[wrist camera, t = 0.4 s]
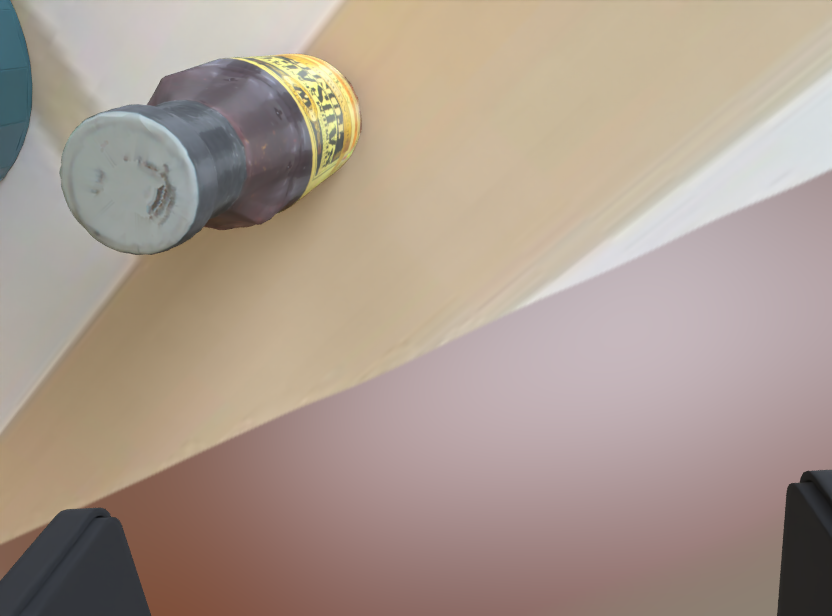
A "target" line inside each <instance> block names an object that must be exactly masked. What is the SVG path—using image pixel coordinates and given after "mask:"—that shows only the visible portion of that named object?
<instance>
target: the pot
mask: <svg viewBox="0 0 832 616" xmlns="http://www.w3.org/2000/svg"><path fill="white" fill-rule="evenodd" d="M31 107H32V77H31V67H30V60H29V55H28V51H27V46H26V42H25V38H24V35H23V32H22V29H21V26H20V23H19V20H18V17H17V14H16V12H15V10H14V8H13V5H12V3H11V1H10V0H0V181H1V180H2V179H3V178H4V176H5V175H6V174H7V172H8V171H9V169H10V168H11V166H12V165H13V164H14V162H15V160H16V158H17V156H18V154H19V152H20V150H21V148H22V146H23V143H24V139H25V136H26V133H27V130H28V126H29V120H30V113H31Z"/></svg>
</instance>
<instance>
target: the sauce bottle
mask: <svg viewBox="0 0 832 616" xmlns="http://www.w3.org/2000/svg"><path fill="white" fill-rule="evenodd" d="M361 127H362V125H361V112H360V107H359V103H358V97H357V96H356V94H355V92H354V90H353V87H352V85H351V83H350V82H349V81H347V79H346V78H345V77H344V76H343V75H342V74H341V73H340V72H339V71H337V70H336V69H335V68H334V67H333V66H331V65H330V64H329V63H327V62H325V61H323V60H321V59H318V58H316V57H313V56H309V55H303V54H282V55H270V56H257V57H235V58H222V59H217V60H214V61H211V62H208V63H205V64H202V65H199V66H196V67H193V68H190V69H187V70H184V71H181V72H178V73H174V74H171V75H168V76H165V77H164V78H162V79H161V81H160V83H159V85H158V86H157V88H156V90H155V92H154V94H153V95H152V97H151V99H150V101H149V102H148V104H147V105H127V106H123V107H120V108H115V109H111V110H108V111H105V112H101V113H99V114H96V115H94V116H92V117H89V118H87V119H86V120H84V121H83V122H82V123H81V124H80V125H79V126H78V127H76V129H75V130H74V131H73V132H72V134H71V135H70V137H69V139H68V141H67V143H66V145H65V147H64V150H63V153H62V159H61V168H60V177H61V187H62V190H63V194H64V197H65V199H66V202H67V204H68V207H69V209H70V211H71V212H72V214H73V216H74V217H75V218H76V219H77V221H78V222H79V223H80V224H81V225H82V226H83V227H84V228H85V229H86V230H87V231H88V232H89V234H90V235H91V236H92V237H93V238H95V239H96V240H97V241H99V242H100V243H102V244H103V245H105V246H107V247H109V248H111V249H114V250H116V251H119V252H123V253H131V254H135V255H143V254H148V255H152V254H156V253H161V252H164V251H168V250H170V249H171V248H173V247H176V246H178V245H180V244H182V243H184V242H185V241H187V240H189V239H191V238H192V237H193V236H194V235H195V234H196V233H197V232H199V231H201V229H202V228H203V227H208V228H213V229H217V230H227V229H233V228H239V227H249V226H253V225H255V224H257V225H258V224H262V223H264V222H266V221H268V220H270V219H271V218H272V217H273V216H274V215H275V214H277V213H280V212H282V211H284V210H286V209H287V208H289V207H290V206H292V205H293V204H295V203H296V202H297V201H299V200H300V199H301V198H302V197H304V196H305V195H306V194H307V193H309V192H310V191H311V190H312V189H314V188H315V187H316V186H318V185H319V184H320V183H321V182H323V181H324V180H325V179H327V178H328V177H329V176H331V175H332V174H333V173H335V172H336V171H337V170H338V169H339V168H340V167H342V166H343V165H344V164H345V163H346V161H347V160H348V159H349V157H350V156H351V154H352V153H353V151H354V149H355V146H356V144H357V141H358V138H359V134H360V133H361Z"/></svg>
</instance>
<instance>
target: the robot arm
mask: <svg viewBox="0 0 832 616" xmlns="http://www.w3.org/2000/svg"><path fill="white" fill-rule="evenodd" d="M0 616H151V613H150V610H149V608H148V605H147V601H146V599H145V595H144V592H143V589H142V586H141V583H140V580H139V577H138V574H137V571H136V567H135V564H134V561H133V558H132V555H131V552H130V549H129V546H128V543H127V540H126V537H125V534H124V531H123V528H122V525H121V523H120V521H119V520H118V519H117V518H115V517H111V516H110V513H109V512H108V511H107V510H106V509H103V508H85V509H67V510H63V511H61V512H60V513H59V514H57V515H56V516H55V517H54V519H53V520H52V521H51V522H50V523H49V524H48V526H47V527H46V528H45V529H44V530H43V531H42V533H41V534H40V535H39V536H38V537H37V539H36V540H35V541H34V542H33V543H32V544H31V546H30V547H29V548H28V549H27V550H26V551H25V553H24V554H23V555H22V556H21V557H20V558H19V560H18V561H17V562H16V563H15V564H14V565H13V567H12V568H11V569H10V570H9V572H8V573H7V574H6V575H5V576H4V577H3V578H2V580H1V581H0ZM777 616H832V470H820V471H819V470H818V471H806V472H804V473H803V474H802V476H801V479H800V483H791V484H789V486H788V488H787V495H786V507H785V520H784V534H783V546H782V561H781V573H780V587H779V599H778V613H777Z"/></svg>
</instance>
